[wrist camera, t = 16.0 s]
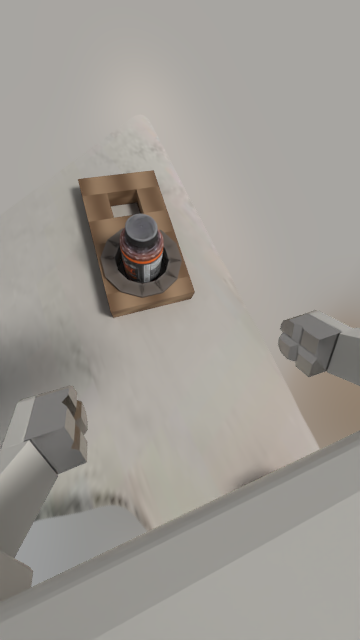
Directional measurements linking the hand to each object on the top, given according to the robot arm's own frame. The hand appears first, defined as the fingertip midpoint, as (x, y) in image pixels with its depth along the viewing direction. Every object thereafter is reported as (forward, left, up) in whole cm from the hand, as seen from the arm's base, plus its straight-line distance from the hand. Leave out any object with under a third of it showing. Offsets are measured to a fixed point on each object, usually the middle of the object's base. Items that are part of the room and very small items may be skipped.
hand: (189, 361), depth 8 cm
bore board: (+2, +23, -27) cm, 35 cm away
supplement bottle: (+2, +18, -27) cm, 32 cm away
